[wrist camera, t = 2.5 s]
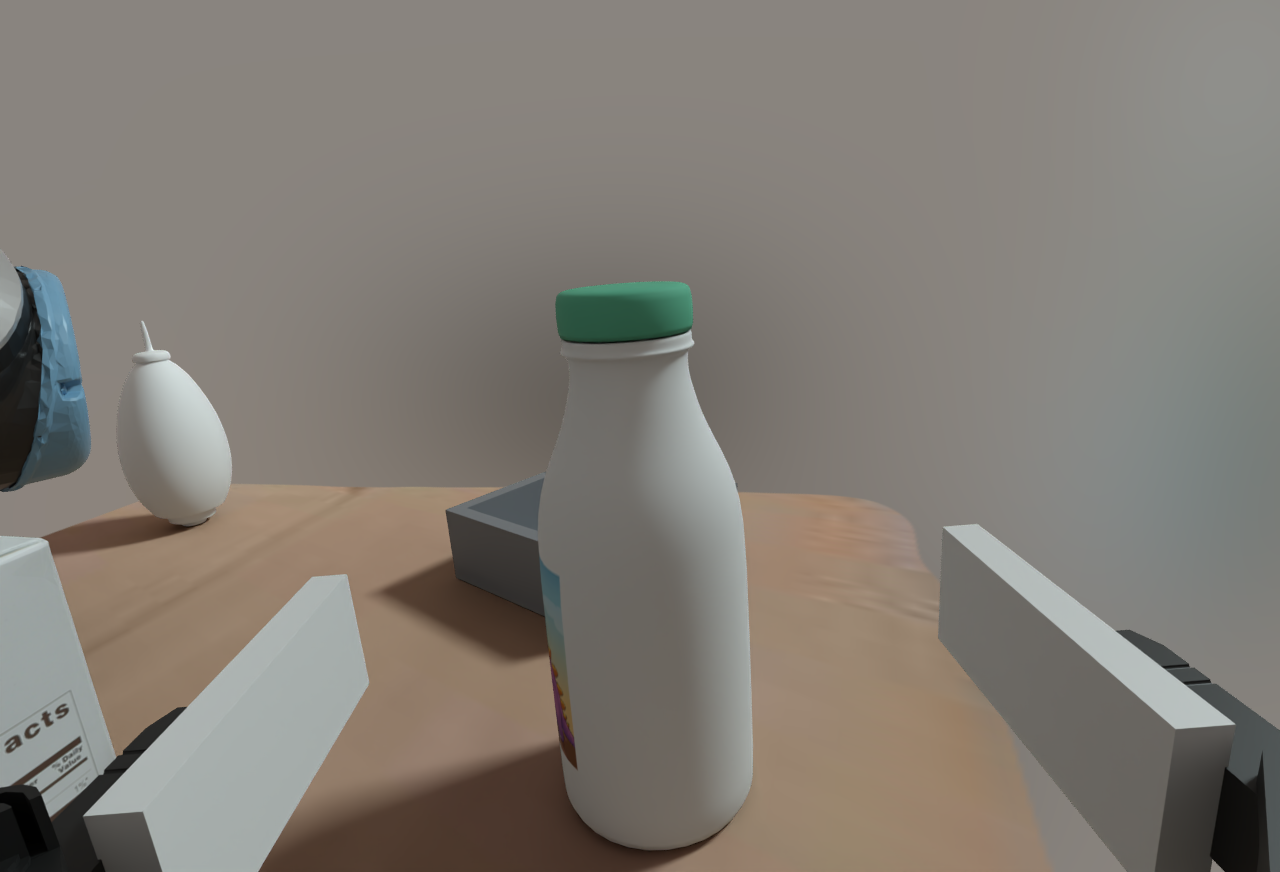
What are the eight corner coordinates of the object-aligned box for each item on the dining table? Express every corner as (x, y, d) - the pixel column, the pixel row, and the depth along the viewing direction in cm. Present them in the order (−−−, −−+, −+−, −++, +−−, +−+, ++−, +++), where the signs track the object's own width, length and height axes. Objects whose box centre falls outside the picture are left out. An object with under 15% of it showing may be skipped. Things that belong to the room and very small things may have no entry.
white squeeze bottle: (262, 511, 63) (215, 313, 58) (172, 546, 57) (112, 326, 52) (212, 502, 67) (165, 315, 62) (123, 533, 60) (63, 327, 56)
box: (455, 577, 48) (445, 509, 46) (597, 511, 58) (591, 454, 56) (602, 641, 39) (594, 560, 37) (739, 550, 49) (737, 483, 47)
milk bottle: (781, 748, 30) (773, 272, 24) (702, 893, 23) (668, 293, 18) (629, 698, 34) (593, 279, 28) (526, 811, 27) (455, 299, 22)
